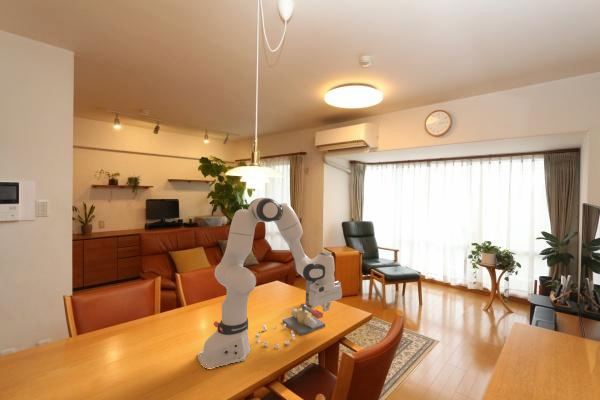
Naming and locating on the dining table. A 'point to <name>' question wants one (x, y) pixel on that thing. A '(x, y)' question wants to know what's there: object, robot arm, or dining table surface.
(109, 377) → the dining table surface
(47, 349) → the dining table surface
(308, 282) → the coffee box
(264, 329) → the game piece set
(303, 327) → the valve base
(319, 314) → the valve lever
